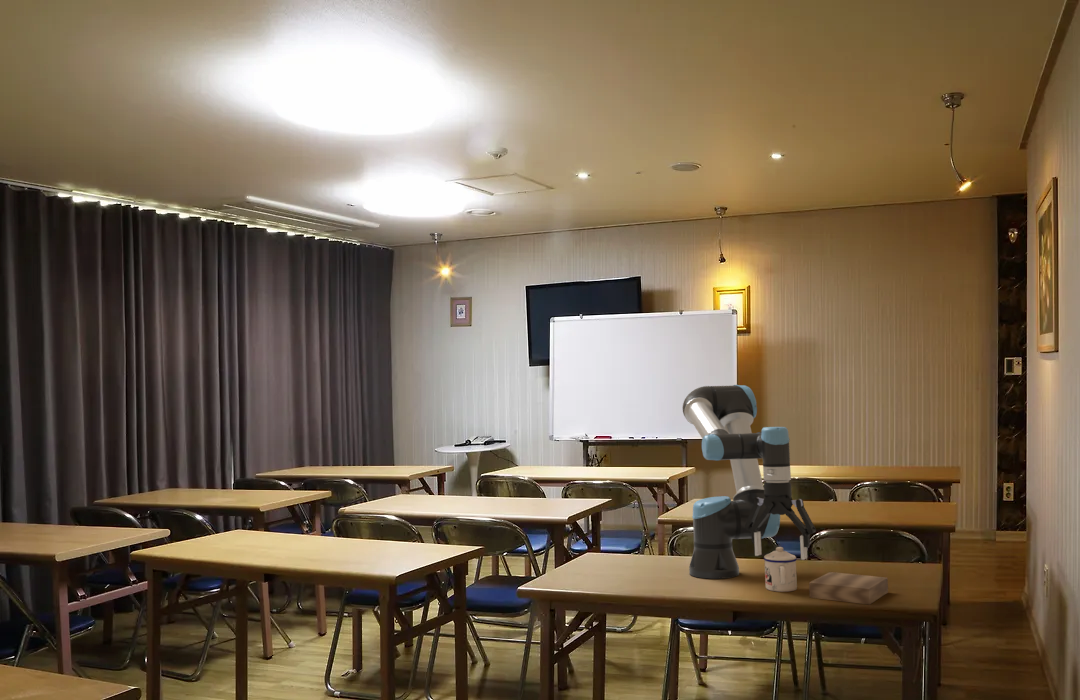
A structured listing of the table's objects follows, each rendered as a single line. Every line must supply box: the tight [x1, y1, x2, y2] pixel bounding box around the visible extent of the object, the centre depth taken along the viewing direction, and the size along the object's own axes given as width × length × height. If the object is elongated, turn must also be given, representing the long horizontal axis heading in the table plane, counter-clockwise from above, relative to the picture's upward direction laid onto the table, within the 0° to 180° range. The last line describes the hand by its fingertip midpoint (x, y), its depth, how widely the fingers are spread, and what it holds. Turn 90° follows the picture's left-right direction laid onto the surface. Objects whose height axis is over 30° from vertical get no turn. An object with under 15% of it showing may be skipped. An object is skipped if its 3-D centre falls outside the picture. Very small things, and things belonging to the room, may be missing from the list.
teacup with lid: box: [763, 546, 798, 593], centre depth 254 cm, size 12×9×12 cm
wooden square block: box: [808, 571, 889, 605], centre depth 245 cm, size 16×16×4 cm
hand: (780, 557), depth 254 cm, fingers open, 13 cm apart
